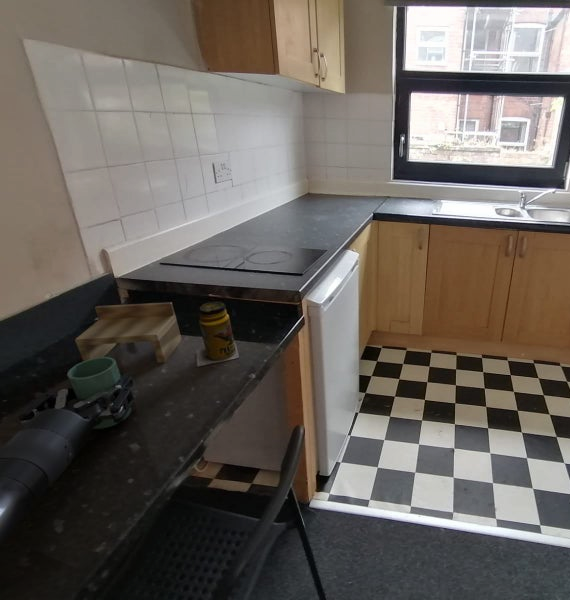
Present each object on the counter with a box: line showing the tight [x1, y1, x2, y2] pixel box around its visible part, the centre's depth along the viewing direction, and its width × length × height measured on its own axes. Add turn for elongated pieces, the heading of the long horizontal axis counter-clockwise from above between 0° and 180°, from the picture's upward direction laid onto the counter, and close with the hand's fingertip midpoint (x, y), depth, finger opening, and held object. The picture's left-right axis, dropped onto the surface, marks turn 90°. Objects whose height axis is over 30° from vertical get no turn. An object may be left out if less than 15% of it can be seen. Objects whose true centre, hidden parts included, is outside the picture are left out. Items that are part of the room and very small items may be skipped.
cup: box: [66, 356, 132, 430], centre depth 68 cm, size 6×6×10 cm
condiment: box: [195, 301, 240, 368], centre depth 88 cm, size 7×8×12 cm
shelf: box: [74, 301, 183, 364], centre depth 89 cm, size 16×10×10 cm, turn 97°
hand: (106, 379), depth 69 cm, fingers closed on cup, 6 cm apart
